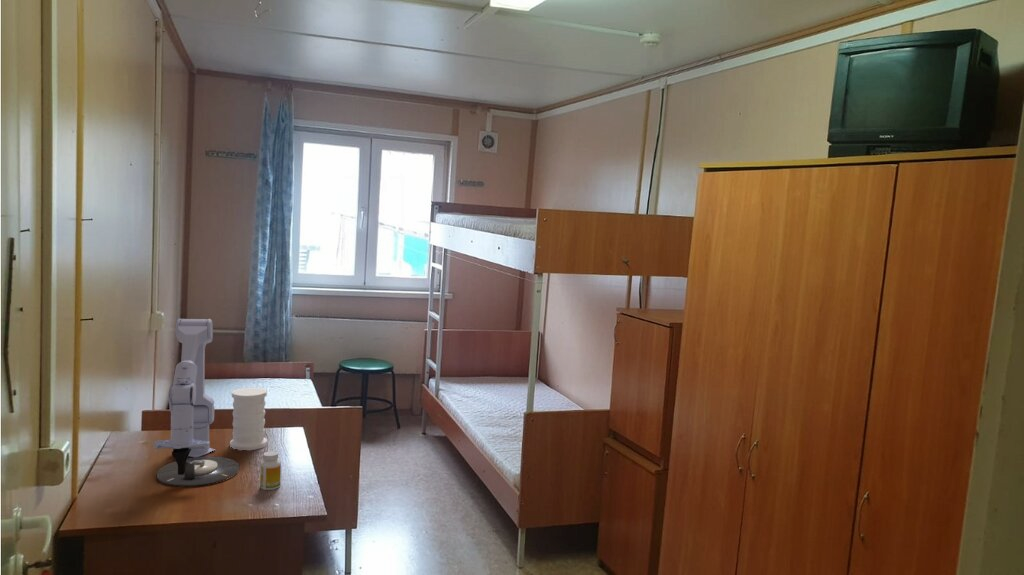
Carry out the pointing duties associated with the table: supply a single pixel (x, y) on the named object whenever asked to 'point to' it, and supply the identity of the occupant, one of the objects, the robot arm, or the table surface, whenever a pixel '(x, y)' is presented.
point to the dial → (199, 468)
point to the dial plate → (223, 471)
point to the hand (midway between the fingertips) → (181, 473)
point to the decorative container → (248, 419)
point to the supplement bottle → (270, 471)
